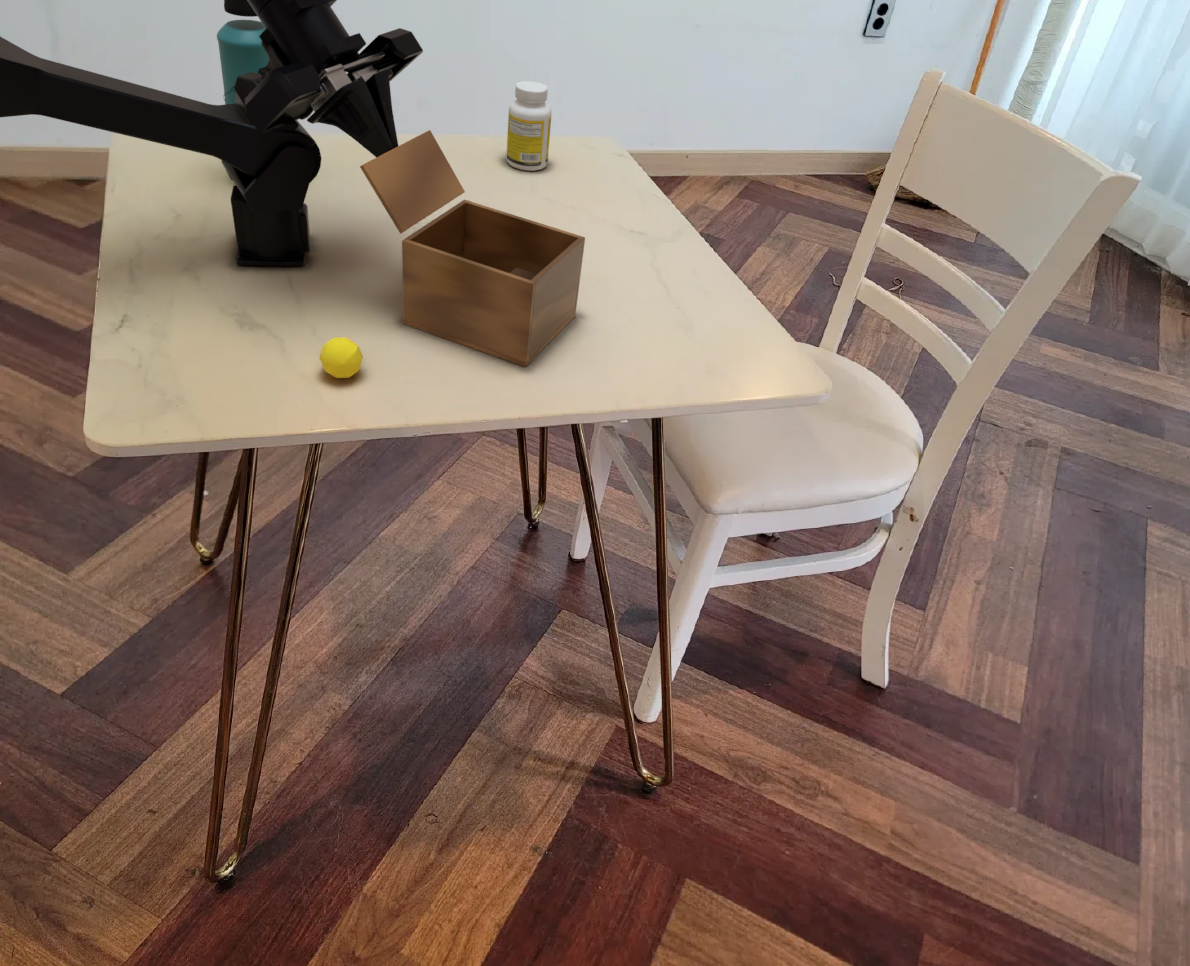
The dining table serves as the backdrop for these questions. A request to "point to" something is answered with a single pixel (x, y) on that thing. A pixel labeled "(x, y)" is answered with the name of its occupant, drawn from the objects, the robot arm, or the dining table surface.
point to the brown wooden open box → (491, 280)
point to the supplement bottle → (529, 127)
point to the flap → (413, 180)
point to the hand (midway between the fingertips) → (395, 164)
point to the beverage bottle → (240, 46)
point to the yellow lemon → (341, 357)
